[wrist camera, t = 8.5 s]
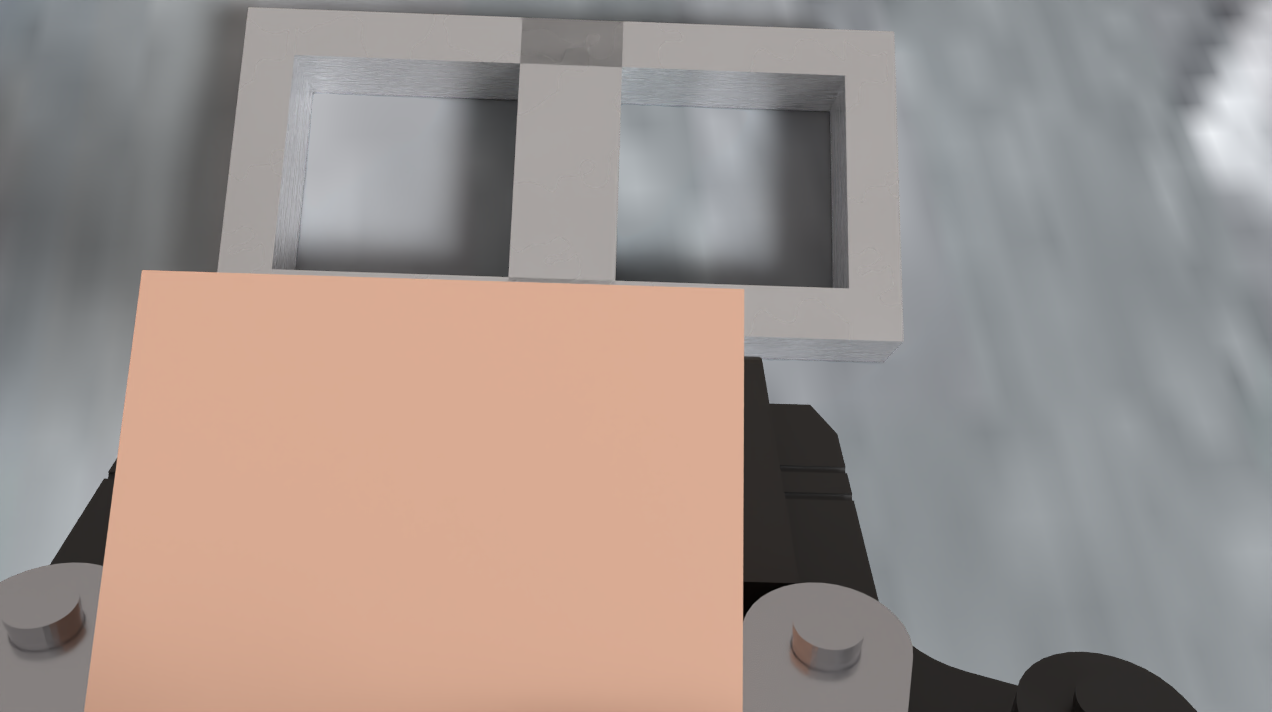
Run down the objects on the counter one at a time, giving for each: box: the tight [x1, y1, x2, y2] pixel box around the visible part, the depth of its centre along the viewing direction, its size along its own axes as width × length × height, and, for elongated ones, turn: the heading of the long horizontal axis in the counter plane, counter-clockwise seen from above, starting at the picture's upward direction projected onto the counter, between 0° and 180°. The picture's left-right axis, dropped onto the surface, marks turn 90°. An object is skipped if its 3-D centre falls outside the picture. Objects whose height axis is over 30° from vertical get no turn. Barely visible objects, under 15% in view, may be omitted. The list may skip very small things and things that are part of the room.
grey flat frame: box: [217, 7, 903, 362], centre depth 30 cm, size 16×8×2 cm, turn 89°
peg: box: [84, 270, 744, 712], centre depth 12 cm, size 4×4×9 cm
